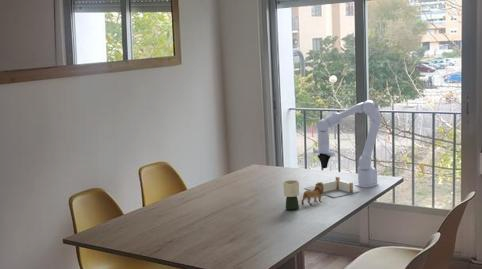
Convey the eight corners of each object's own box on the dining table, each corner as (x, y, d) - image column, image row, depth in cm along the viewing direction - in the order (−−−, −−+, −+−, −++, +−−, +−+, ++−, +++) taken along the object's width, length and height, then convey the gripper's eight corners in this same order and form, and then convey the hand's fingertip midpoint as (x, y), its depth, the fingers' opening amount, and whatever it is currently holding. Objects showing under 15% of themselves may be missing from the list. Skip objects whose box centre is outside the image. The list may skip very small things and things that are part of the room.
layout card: (328, 183, 322) (328, 182, 322) (359, 192, 302) (359, 191, 302) (304, 188, 314) (304, 188, 314) (334, 198, 294) (334, 197, 294)
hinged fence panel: (334, 187, 310) (334, 178, 309) (337, 188, 308) (336, 179, 308) (319, 192, 304) (318, 182, 303) (321, 192, 302) (320, 183, 302)
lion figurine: (318, 198, 295) (317, 180, 293) (326, 200, 291) (326, 182, 289) (298, 205, 285) (297, 187, 283) (306, 207, 281) (306, 188, 279)
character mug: (304, 211, 276) (303, 183, 274) (290, 213, 274) (288, 185, 271) (294, 205, 286) (293, 178, 284) (280, 207, 284) (279, 180, 282)
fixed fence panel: (335, 188, 310) (334, 177, 309) (338, 187, 311) (337, 176, 310) (350, 193, 300) (350, 181, 299) (354, 192, 301) (353, 180, 300)
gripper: (308, 141, 320) (310, 167, 322) (326, 145, 307) (327, 171, 309) (319, 140, 323) (320, 164, 325) (337, 143, 311) (338, 169, 313)
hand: (324, 168), depth 318 cm, fingers closed
